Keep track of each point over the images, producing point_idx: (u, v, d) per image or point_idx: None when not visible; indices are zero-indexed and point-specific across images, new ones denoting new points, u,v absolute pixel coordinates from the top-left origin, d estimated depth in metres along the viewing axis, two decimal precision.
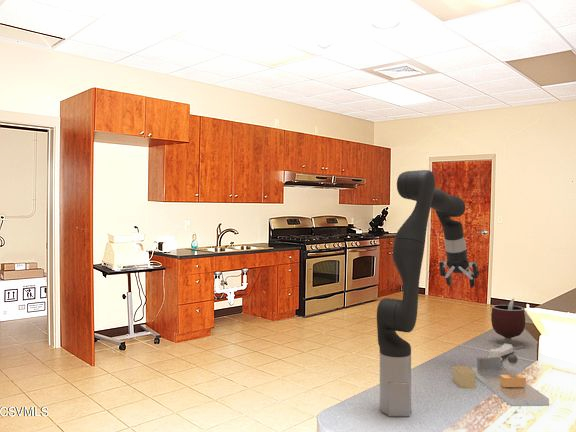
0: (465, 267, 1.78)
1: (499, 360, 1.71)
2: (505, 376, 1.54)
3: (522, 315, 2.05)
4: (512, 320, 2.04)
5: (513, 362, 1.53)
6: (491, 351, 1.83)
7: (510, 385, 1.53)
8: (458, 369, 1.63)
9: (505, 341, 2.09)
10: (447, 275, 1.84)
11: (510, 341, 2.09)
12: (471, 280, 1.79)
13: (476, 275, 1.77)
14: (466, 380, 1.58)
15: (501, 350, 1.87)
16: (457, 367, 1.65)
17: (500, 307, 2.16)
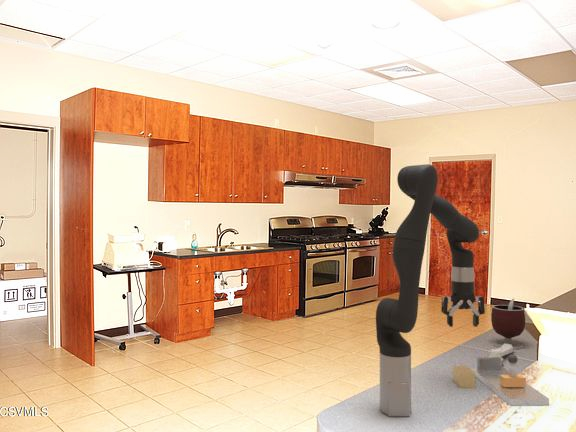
0: (472, 301, 1.62)
1: (499, 360, 1.71)
2: (505, 376, 1.54)
3: (522, 315, 2.05)
4: (512, 320, 2.04)
5: (513, 362, 1.53)
6: (492, 351, 1.82)
7: (510, 385, 1.53)
8: (458, 369, 1.63)
9: (505, 341, 2.09)
10: (451, 312, 1.61)
11: (510, 341, 2.09)
12: (477, 317, 1.62)
13: (483, 310, 1.62)
14: (466, 380, 1.58)
15: (502, 350, 1.87)
16: (457, 367, 1.65)
17: (500, 307, 2.16)
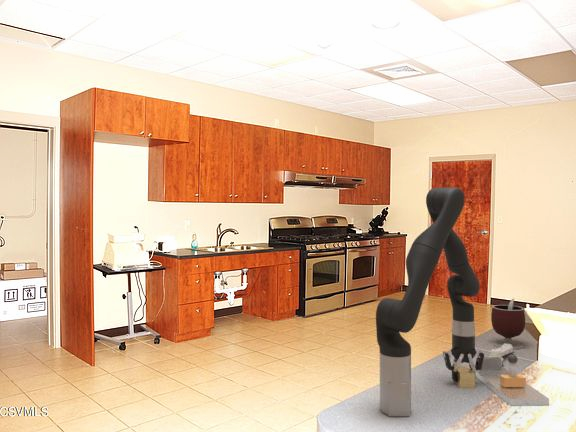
0: (473, 356, 1.61)
1: (499, 360, 1.71)
2: (505, 376, 1.54)
3: (522, 315, 2.05)
4: (512, 320, 2.04)
5: (513, 362, 1.53)
6: (492, 351, 1.82)
7: (510, 385, 1.53)
8: (458, 369, 1.63)
9: (505, 341, 2.09)
10: (456, 368, 1.61)
11: (510, 341, 2.09)
12: None
13: (480, 366, 1.61)
14: (466, 379, 1.58)
15: (502, 350, 1.87)
16: None
17: (500, 307, 2.16)
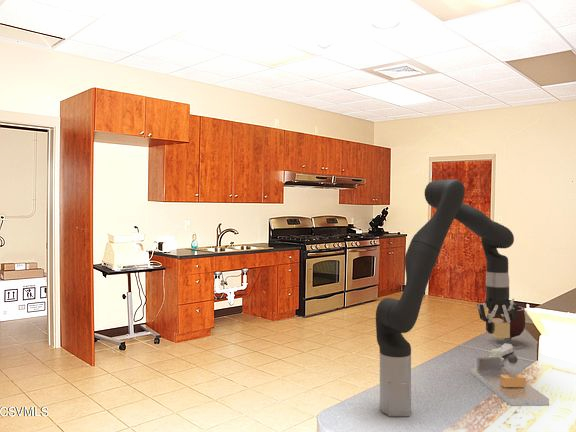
0: (507, 308, 1.64)
1: (499, 360, 1.71)
2: (505, 376, 1.54)
3: (522, 315, 2.05)
4: None
5: (513, 362, 1.53)
6: (493, 351, 1.83)
7: (510, 385, 1.53)
8: (492, 320, 1.65)
9: (505, 341, 2.09)
10: (491, 319, 1.63)
11: (510, 341, 2.09)
12: None
13: (514, 317, 1.64)
14: (500, 329, 1.61)
15: (502, 350, 1.87)
16: None
17: None
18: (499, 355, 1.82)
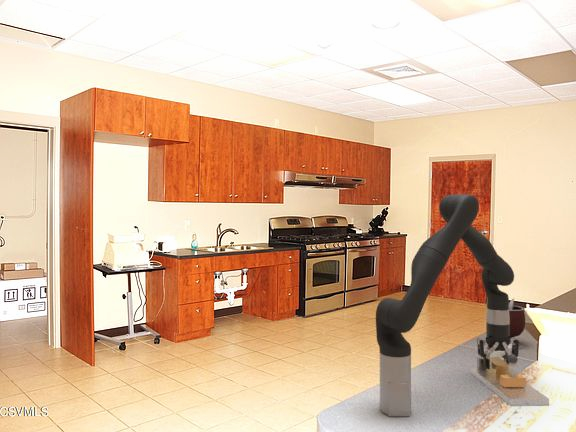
0: (507, 344, 1.64)
1: None
2: (505, 376, 1.54)
3: (522, 315, 2.05)
4: (512, 320, 2.03)
5: (513, 362, 1.53)
6: None
7: (510, 385, 1.53)
8: (492, 361, 1.65)
9: None
10: (488, 355, 1.63)
11: None
12: None
13: (517, 353, 1.64)
14: (501, 371, 1.61)
15: None
16: (491, 359, 1.67)
17: None
18: (499, 355, 1.82)
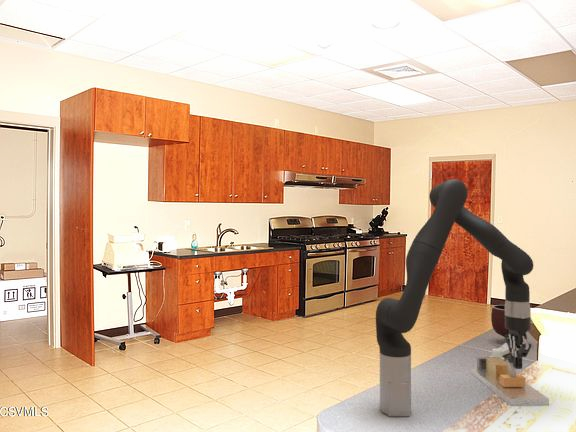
0: (518, 343, 1.48)
1: None
2: (505, 375, 1.55)
3: None
4: None
5: None
6: (493, 351, 1.83)
7: (510, 385, 1.53)
8: (492, 361, 1.65)
9: (505, 341, 2.09)
10: (513, 352, 1.51)
11: None
12: (516, 358, 1.50)
13: (518, 353, 1.48)
14: (501, 371, 1.61)
15: (503, 349, 1.88)
16: (491, 359, 1.67)
17: (500, 307, 2.16)
18: (500, 355, 1.82)
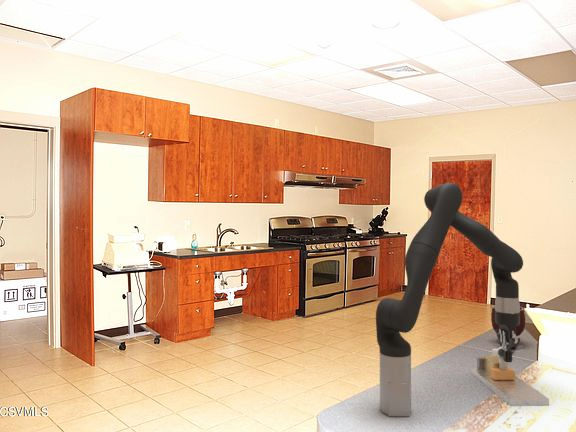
0: (507, 337, 1.55)
1: None
2: (495, 369, 1.62)
3: (522, 315, 2.05)
4: None
5: (503, 356, 1.60)
6: (493, 351, 1.83)
7: (500, 378, 1.60)
8: (490, 359, 1.67)
9: None
10: (503, 346, 1.58)
11: None
12: (506, 352, 1.57)
13: (508, 347, 1.55)
14: None
15: None
16: (488, 357, 1.69)
17: None
18: None
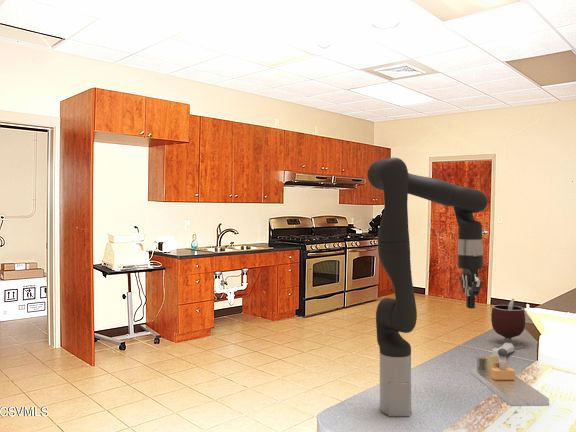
0: (470, 281, 1.46)
1: None
2: (495, 369, 1.62)
3: (522, 315, 2.05)
4: (512, 320, 2.03)
5: (503, 356, 1.60)
6: (494, 350, 1.84)
7: (500, 378, 1.60)
8: (490, 359, 1.67)
9: (505, 341, 2.09)
10: (466, 292, 1.49)
11: (510, 341, 2.09)
12: (468, 298, 1.48)
13: (470, 291, 1.46)
14: None
15: None
16: (488, 357, 1.69)
17: (500, 307, 2.16)
18: None
